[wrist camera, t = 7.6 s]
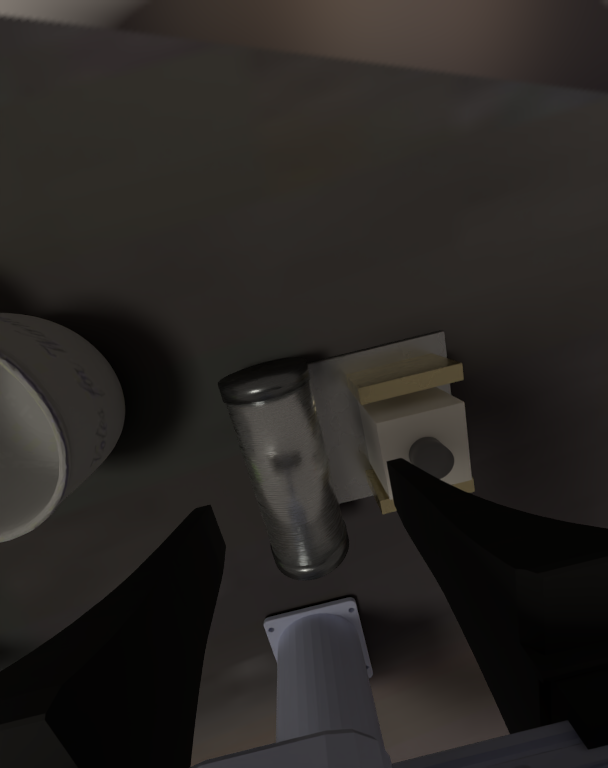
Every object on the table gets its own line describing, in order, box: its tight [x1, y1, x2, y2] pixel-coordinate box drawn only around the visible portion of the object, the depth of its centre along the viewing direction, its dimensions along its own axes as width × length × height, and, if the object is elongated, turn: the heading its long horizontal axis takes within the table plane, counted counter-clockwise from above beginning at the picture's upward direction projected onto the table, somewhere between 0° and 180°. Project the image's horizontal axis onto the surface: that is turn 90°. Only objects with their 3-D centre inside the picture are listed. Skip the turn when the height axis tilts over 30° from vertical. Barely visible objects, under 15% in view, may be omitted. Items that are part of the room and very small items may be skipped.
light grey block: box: [358, 387, 472, 500], centre depth 19 cm, size 5×5×6 cm
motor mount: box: [218, 331, 475, 580], centre depth 19 cm, size 13×15×6 cm
